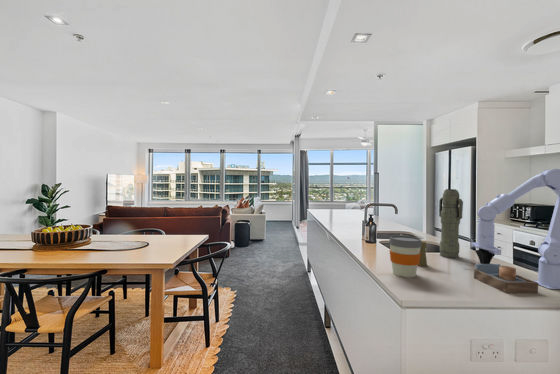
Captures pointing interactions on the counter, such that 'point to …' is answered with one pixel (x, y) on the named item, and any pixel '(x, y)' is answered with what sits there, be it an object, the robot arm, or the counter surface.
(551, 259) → the robot arm
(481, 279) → the caddy
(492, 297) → the counter surface
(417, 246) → the reusable coffee cup
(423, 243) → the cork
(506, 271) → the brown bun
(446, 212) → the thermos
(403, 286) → the counter surface
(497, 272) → the tray
